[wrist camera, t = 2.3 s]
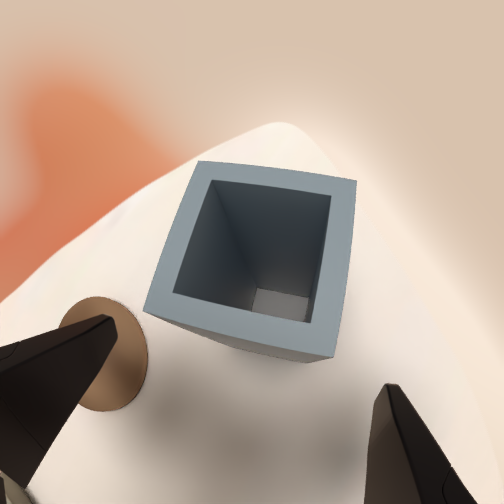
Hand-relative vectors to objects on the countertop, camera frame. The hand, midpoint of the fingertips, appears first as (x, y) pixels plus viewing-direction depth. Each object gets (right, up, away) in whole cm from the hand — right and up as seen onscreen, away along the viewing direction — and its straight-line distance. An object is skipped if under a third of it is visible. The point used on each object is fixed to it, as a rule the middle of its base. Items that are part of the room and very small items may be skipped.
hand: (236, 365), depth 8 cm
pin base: (-11, -5, +11) cm, 16 cm away
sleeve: (+2, -1, +10) cm, 11 cm away
